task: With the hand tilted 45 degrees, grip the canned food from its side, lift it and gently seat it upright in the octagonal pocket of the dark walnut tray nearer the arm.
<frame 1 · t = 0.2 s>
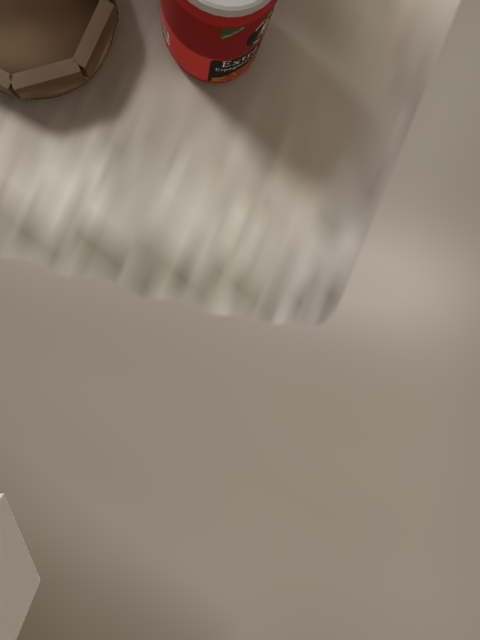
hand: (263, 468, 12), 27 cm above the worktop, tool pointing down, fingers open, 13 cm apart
canned food: (210, 35, 35), on the worktop
walnut tray: (27, 9, 33), on the worktop
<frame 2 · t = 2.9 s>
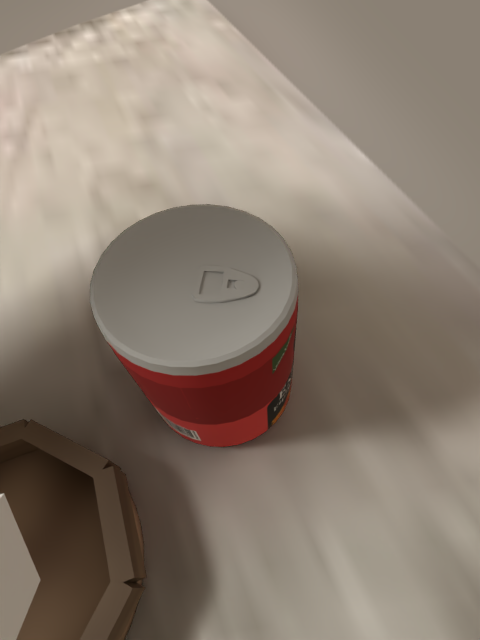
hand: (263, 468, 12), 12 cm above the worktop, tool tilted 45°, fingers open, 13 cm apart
canned food: (223, 387, 26), on the worktop
walnut tray: (15, 573, 21), on the worktop
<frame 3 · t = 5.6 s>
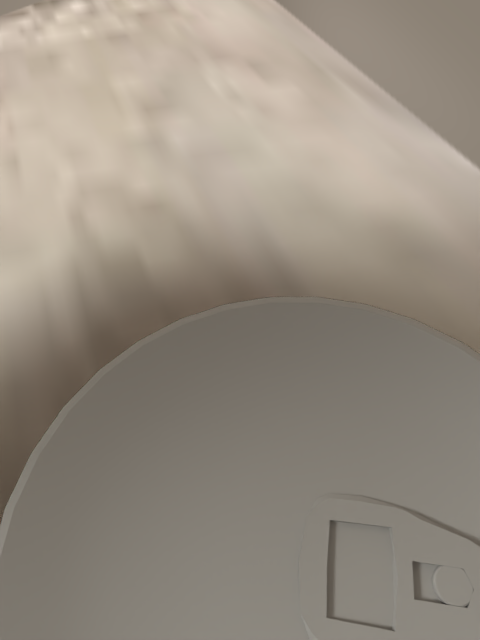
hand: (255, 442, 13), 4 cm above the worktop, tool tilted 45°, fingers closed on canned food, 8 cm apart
canned food: (286, 570, 15), on the worktop, touching gripper
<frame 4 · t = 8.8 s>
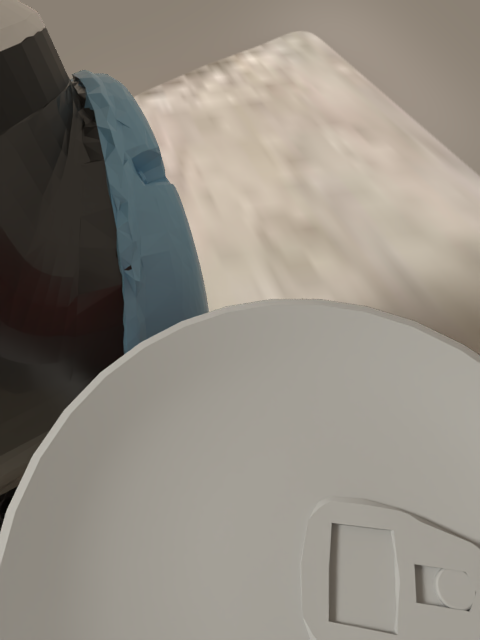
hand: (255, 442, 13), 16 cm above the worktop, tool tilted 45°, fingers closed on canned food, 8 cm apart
canned food: (287, 571, 15), point 12 cm above the worktop, touching gripper
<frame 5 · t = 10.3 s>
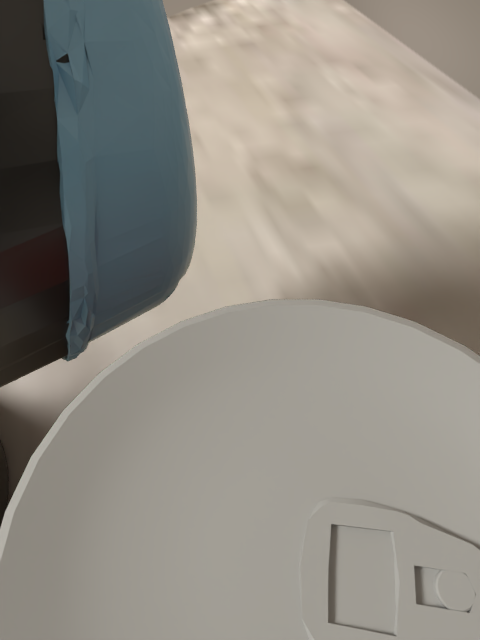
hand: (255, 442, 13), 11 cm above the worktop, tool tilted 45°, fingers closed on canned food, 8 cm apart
canned food: (287, 572, 15), point 7 cm above the worktop, touching gripper
when the fingers open (6 cm above the worktop, at t = 11.8 s): canned food drops 1 cm, resting on walnut tray.
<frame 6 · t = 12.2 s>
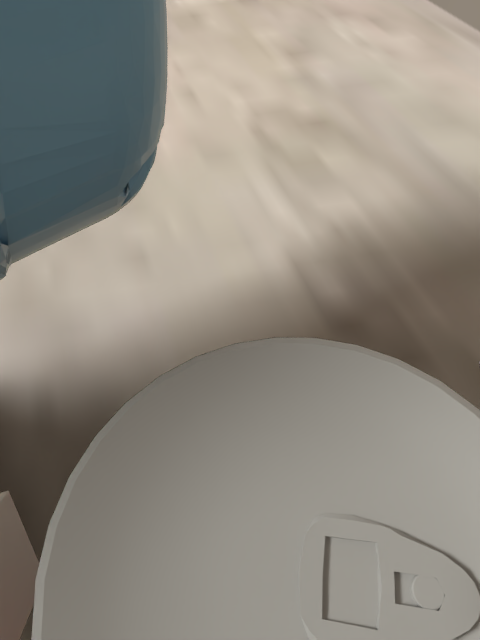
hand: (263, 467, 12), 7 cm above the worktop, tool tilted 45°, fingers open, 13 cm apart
canned food: (286, 574, 16), point 1 cm above the worktop, touching walnut tray
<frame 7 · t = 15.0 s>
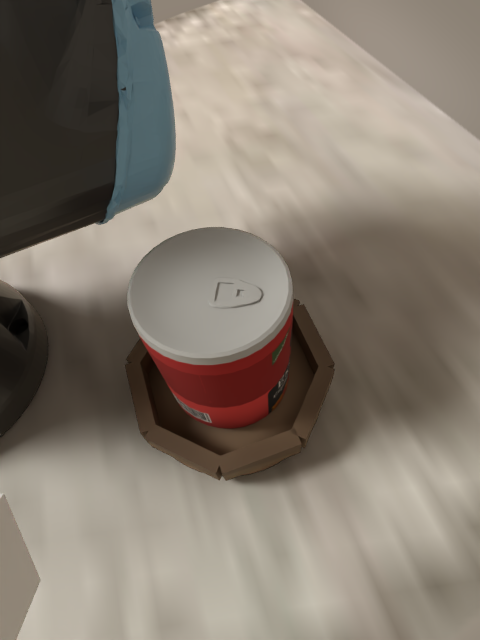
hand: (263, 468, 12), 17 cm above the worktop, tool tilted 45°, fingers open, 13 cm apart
canned food: (230, 379, 30), point 1 cm above the worktop, touching walnut tray
walnut tray: (231, 382, 31), on the worktop
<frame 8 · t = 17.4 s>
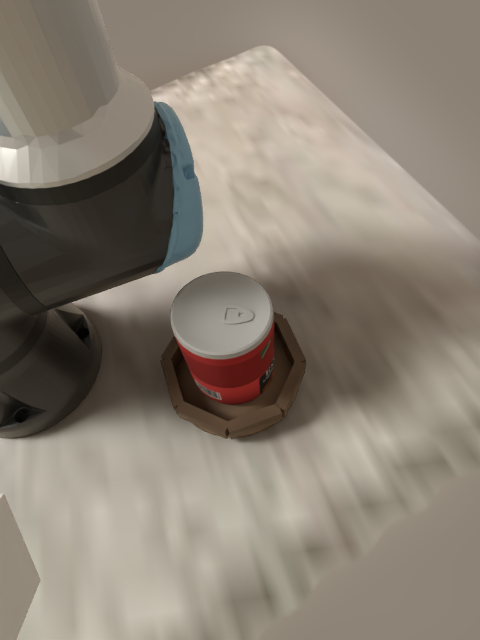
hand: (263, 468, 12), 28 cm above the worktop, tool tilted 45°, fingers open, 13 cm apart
canned food: (234, 370, 42), point 1 cm above the worktop, touching walnut tray
walnut tray: (234, 373, 43), on the worktop
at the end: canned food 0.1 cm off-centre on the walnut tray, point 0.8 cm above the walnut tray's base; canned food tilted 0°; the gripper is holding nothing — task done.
